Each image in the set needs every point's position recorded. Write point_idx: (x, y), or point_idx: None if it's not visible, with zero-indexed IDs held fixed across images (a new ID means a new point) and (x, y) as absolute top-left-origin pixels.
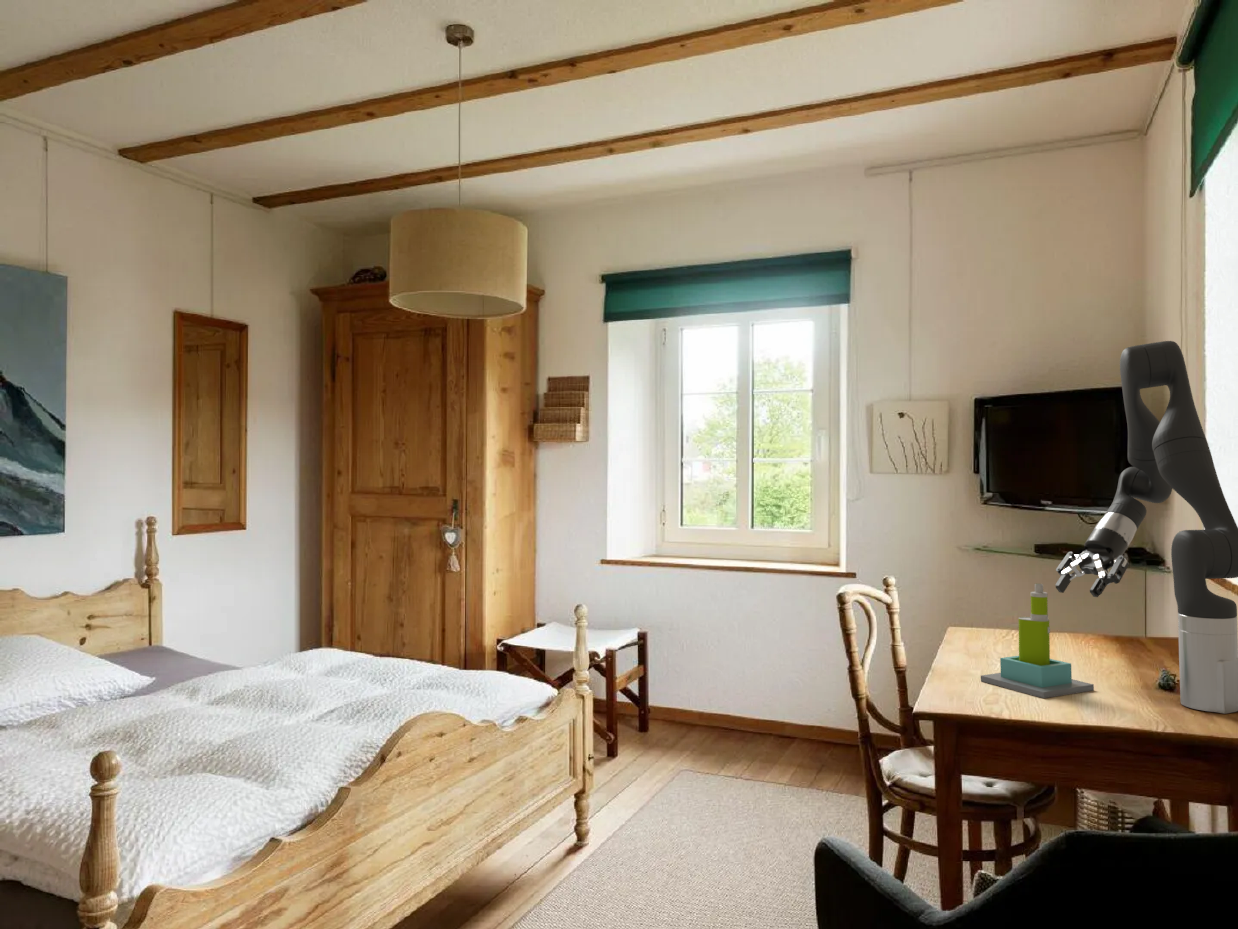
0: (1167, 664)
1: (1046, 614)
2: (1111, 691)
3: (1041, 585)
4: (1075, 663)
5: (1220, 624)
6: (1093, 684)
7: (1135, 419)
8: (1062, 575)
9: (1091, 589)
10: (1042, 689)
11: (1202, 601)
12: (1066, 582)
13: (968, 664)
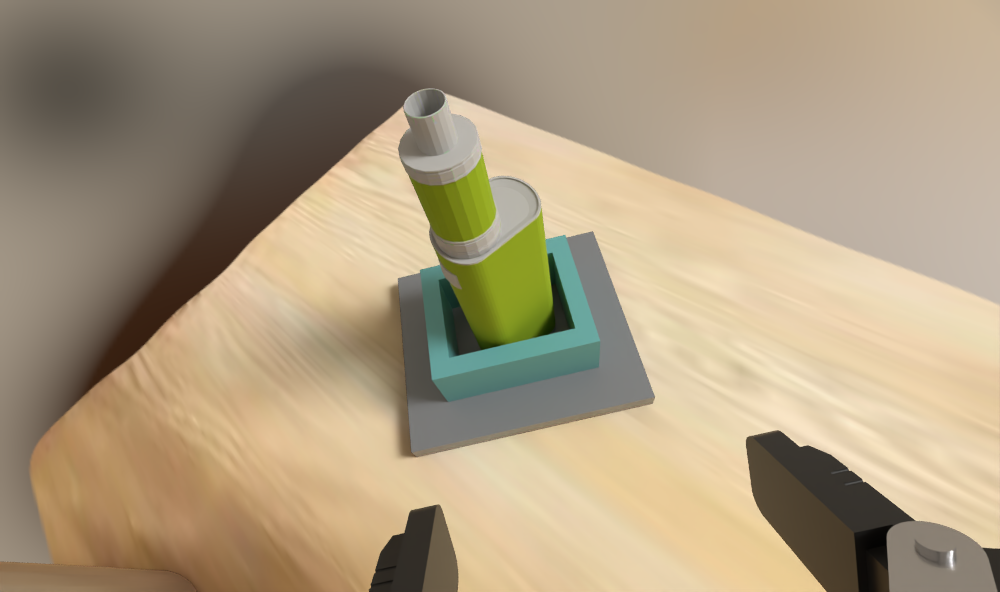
0: None
1: (430, 226)
2: (389, 503)
3: (405, 110)
4: None
5: None
6: (411, 451)
7: None
8: (874, 510)
9: (421, 509)
10: (419, 290)
11: None
12: (820, 552)
13: (824, 304)
